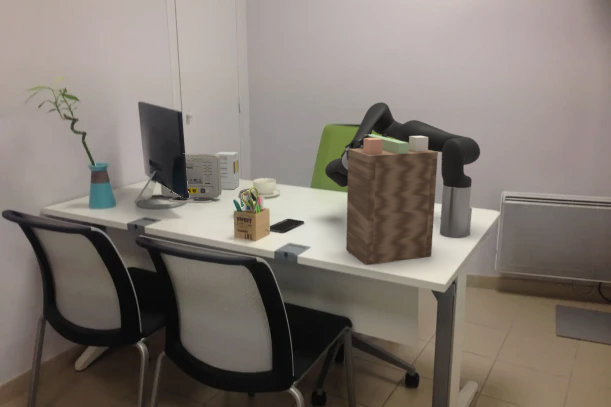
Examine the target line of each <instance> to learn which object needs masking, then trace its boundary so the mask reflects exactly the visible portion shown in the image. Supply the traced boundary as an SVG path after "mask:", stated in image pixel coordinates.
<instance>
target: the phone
mask: <svg viewBox="0 0 611 407" xmlns="http://www.w3.org/2000/svg"><path fill="white" fill-rule="evenodd" d="M304 224H305V221H304V220H300V219H293V218H285V219H283V220H281V221H277V223H273V224H271V225H269V226H270V231H269V232H272V233H278V234H285V233H288V232H289V231H292V230H294V229H296V228H299V227H300V226H302V225H304Z"/></svg>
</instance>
